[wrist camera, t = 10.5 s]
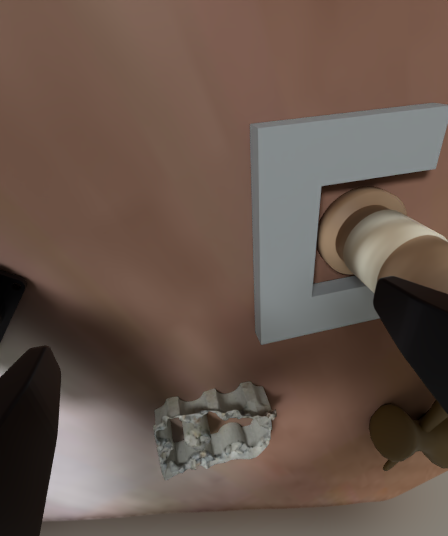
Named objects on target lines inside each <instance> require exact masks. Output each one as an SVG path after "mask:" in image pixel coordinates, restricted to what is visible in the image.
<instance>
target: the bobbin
mask: <svg viewBox="0 0 448 536" xmlns="http://www.w3.org/2000/svg"><path fill="white" fill-rule="evenodd" d="M316 247H317V250H318V252H319V254H320V256H321V257H322V258H323V259H324V260H325V261H326V262H327V263H328V264H329V265H330V266H331V267H332V268H333V269H334V270H336V271H337V272H340V273H343V274H354V275H355V276H356V277H357V278H359V279H360V280H361V281H362V282H363V283H364V284H365V285H366V286H367V287H368V288H369V289H370V290H371V291H372V292H373V293H375V288H376V283H377V281H378V279H380V278H382V277H387V276H396V277H399V278H402V279H405V280H408V281H411V282H414V283H417V284H420V285H423V286H426V287H429V288H432V289H435V290H438V291H441V292H444V293H447V294H448V241H447V239H446V238H445V237H443V236H442V235H440V234H438V233H437V232H435V231H433V230H431V229H429V228H428V227H426V226H424V225H422V224H420V223H419V222H417V221H415V220H413V219H411V218H410V217H408V216H407V213H406V209H405V207H404V205H403V203H402V202H401V200H400V199H399V198H397V197H396V196H395V195H393V194H391V193H389V192H387V191H385V190H383V189H380V188H378V187H374V186H363V187H358V188H355V189H352V190H350V191H348V192H346V193H344V194H343V195H341V196H340V197H339V198H337V199H336V200H335V201H334V202H333V203H332V204H331V205H330V206H329V207H328V208H327V210H326V211H325V213H324V214H323V216H322V218H321V219H320V222H319V224H318V231H317V242H316Z"/></svg>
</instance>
